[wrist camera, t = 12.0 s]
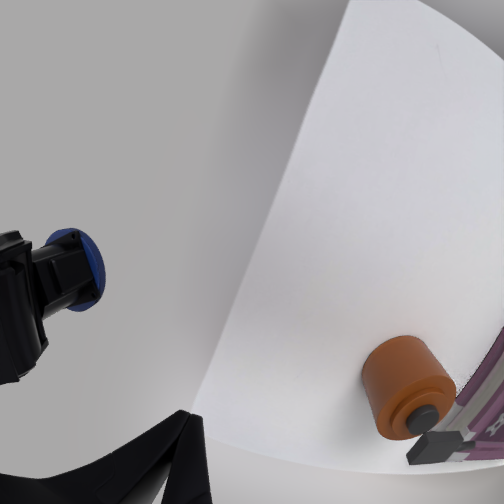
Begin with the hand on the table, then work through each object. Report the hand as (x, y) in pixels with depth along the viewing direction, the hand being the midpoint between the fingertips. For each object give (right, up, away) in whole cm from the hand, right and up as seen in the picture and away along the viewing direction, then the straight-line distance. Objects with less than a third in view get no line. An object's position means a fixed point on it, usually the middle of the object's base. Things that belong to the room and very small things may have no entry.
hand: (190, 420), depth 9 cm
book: (+36, -12, +11) cm, 39 cm away
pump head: (+15, -6, +4) cm, 16 cm away
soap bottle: (+15, -4, +12) cm, 19 cm away
